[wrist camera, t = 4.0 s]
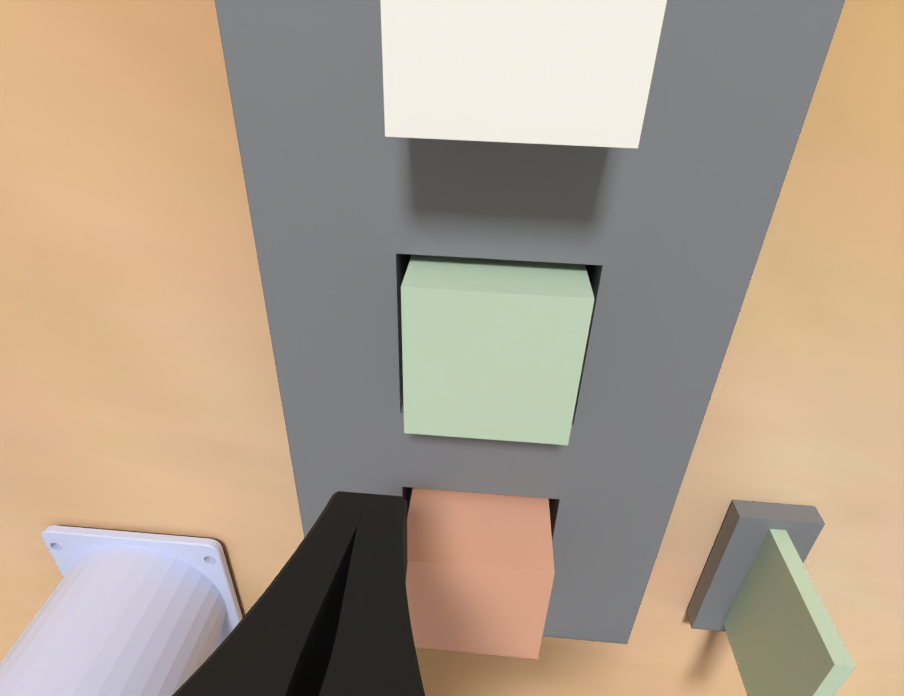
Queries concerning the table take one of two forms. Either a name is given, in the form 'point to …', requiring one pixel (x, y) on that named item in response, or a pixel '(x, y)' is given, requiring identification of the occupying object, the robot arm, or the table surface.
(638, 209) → the button board
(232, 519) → the table surface
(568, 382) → the sage block
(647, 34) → the cream block
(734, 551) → the card
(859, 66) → the table surface
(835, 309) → the table surface
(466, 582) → the terracotta block
